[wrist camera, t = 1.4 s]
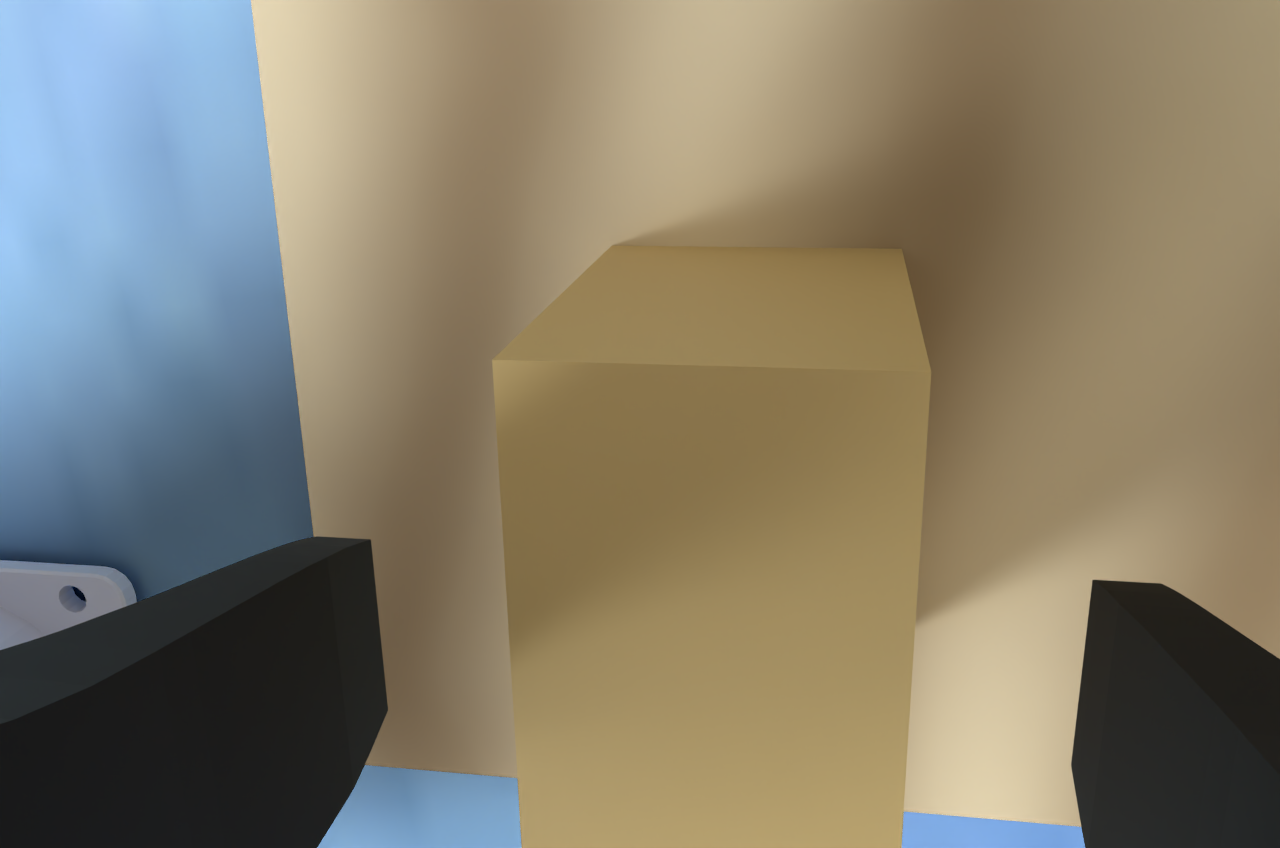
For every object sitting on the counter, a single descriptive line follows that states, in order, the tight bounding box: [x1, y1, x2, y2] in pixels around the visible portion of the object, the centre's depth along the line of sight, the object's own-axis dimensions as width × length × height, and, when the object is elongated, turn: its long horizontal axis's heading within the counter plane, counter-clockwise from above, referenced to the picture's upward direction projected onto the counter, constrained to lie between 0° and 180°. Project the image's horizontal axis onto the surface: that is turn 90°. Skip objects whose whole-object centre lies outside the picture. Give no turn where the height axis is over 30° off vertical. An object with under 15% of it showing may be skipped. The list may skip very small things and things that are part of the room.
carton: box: [492, 246, 931, 848], centre depth 14 cm, size 6×4×6 cm
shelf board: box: [251, 0, 1280, 827], centre depth 15 cm, size 18×22×4 cm
